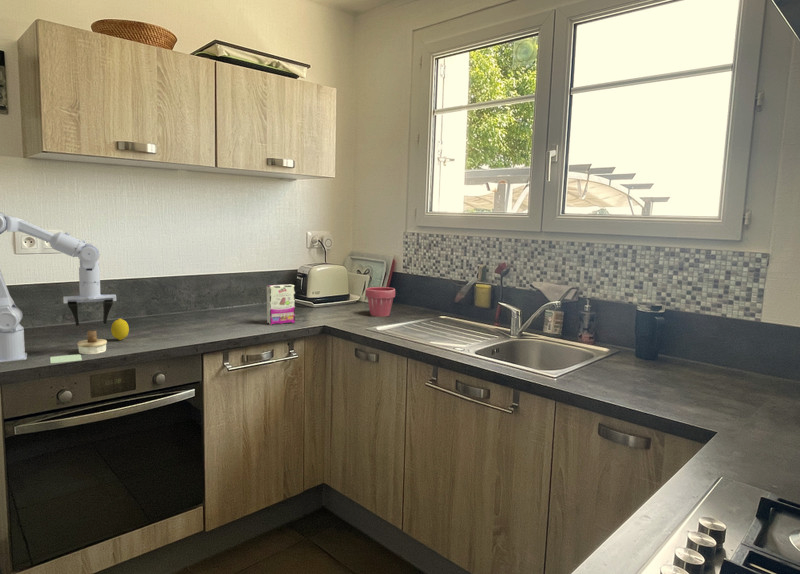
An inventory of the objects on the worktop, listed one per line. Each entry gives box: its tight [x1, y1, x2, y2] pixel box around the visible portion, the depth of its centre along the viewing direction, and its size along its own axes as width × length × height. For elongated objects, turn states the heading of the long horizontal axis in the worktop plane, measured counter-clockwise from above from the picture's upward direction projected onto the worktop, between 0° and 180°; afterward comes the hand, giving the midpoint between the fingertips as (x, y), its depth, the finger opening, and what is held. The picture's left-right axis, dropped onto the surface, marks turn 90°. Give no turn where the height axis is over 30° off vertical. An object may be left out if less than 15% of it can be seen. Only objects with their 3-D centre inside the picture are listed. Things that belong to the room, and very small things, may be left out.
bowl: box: [78, 344, 107, 355], centre depth 173 cm, size 8×8×3 cm
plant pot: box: [365, 286, 396, 318], centre depth 255 cm, size 14×14×13 cm
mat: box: [49, 353, 83, 364], centre depth 164 cm, size 8×8×1 cm
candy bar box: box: [266, 283, 296, 326], centre depth 228 cm, size 11×5×16 cm, turn 123°
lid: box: [77, 329, 108, 348], centre depth 172 cm, size 8×8×4 cm
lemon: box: [110, 318, 130, 341], centre depth 189 cm, size 6×6×8 cm
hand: (91, 324), depth 172 cm, fingers open, 7 cm apart
